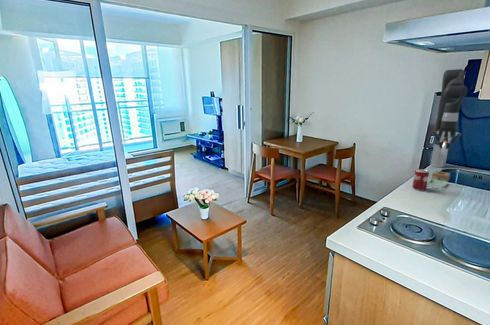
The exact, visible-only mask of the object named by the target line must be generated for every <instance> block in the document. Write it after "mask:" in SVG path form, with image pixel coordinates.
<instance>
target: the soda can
mask: <svg viewBox="0 0 490 325" xmlns="http://www.w3.org/2000/svg"><path fill="white" fill-rule="evenodd" d="M429 175H430V172H429V171H428V170H427V169H425V168H423V169H422V168H416V169H415V170H414V176H413V179H412V180H413V181H412V186H411V187H412V189H413V190H415V191H421V192H423V191H426V190H427V188H428V185H427V182H428V181H429Z"/></svg>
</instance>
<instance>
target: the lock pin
mask: <svg viewBox="0 0 490 325" xmlns="http://www.w3.org/2000/svg"><path fill="white" fill-rule="evenodd" d="M447 143H448V141H443V144H442V149H441V154H440V155H441V156H446V151H447V149H446V148H447Z"/></svg>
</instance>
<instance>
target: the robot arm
mask: <svg viewBox="0 0 490 325" xmlns="http://www.w3.org/2000/svg"><path fill="white" fill-rule="evenodd" d="M465 74H466V73H465V70H464V69H460V68H458V69H457V68H456V69H447V70H445V71H444V73H443V76H442V84H441V92H440V93H441V94H440V99H439V102H438V108H437V109H438V110H437V118H436V121H435V125H434V130H433V135H434V137H435V140H434V143H433V148H432V153H431V158H430V166H431V167H435V168H446V162H447V158H448V157H447V156H448V152H449V149H450V148H451V144H452V143H455V142H456V141H458V139H459V137H461V135H462V133H460V132H458V131H457V126H458V120H459V113H460V108H461V105H462V102H463V100H464V98H465V96H466V95H467V93H468V87H467V86H466V85H464V84H463V83H464V80H465V76H466V75H465ZM454 135H455V136H454ZM453 136H454V138H452V137H453ZM443 141H448V143H447V148H446V149H447V151H446V156H441V155H440V154H441V149H442V144H443Z"/></svg>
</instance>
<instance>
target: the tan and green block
mask: <svg viewBox="0 0 490 325" xmlns="http://www.w3.org/2000/svg"><path fill="white" fill-rule="evenodd" d="M450 177H451V172H446V171H441V170H440V171H439V170H434V172H432V175H431V177H430V179H436V180H441V181H446V182H448V183H449V181H450V180H451V178H450Z"/></svg>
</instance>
